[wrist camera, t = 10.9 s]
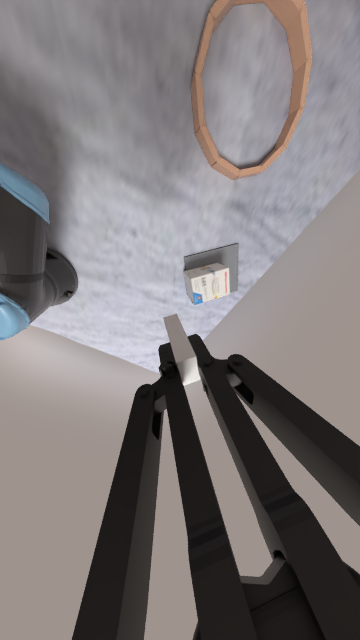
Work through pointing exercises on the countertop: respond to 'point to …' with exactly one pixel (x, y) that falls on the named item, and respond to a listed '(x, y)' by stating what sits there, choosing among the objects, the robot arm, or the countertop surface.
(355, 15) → the countertop surface
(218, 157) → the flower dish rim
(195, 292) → the ink box
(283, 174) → the countertop surface
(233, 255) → the mat
